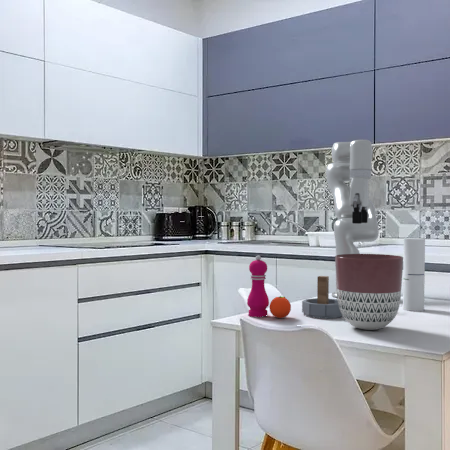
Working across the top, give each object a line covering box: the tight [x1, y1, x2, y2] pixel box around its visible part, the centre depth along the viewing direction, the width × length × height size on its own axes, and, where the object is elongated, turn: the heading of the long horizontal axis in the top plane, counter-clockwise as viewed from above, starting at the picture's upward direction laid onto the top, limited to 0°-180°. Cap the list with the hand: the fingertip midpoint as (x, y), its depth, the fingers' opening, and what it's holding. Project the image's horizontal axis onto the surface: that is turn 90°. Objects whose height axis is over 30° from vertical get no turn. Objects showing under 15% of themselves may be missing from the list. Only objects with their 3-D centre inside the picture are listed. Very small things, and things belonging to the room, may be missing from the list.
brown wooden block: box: [316, 275, 330, 304], centre depth 194 cm, size 3×3×12 cm
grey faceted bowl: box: [301, 297, 343, 319], centre depth 194 cm, size 13×13×4 cm
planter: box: [334, 253, 404, 331], centre depth 172 cm, size 20×20×21 cm
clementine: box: [269, 296, 292, 319], centre depth 189 cm, size 8×7×7 cm
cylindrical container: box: [402, 237, 426, 312], centre depth 205 cm, size 7×7×25 cm
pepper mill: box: [246, 255, 270, 318], centre depth 192 cm, size 7×7×20 cm
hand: (360, 223), depth 207 cm, fingers open, 9 cm apart
